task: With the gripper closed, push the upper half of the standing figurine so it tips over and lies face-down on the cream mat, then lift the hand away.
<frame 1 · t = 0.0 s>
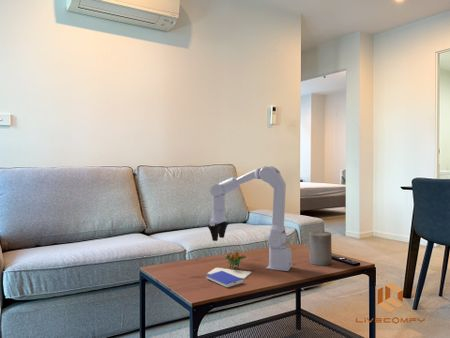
hand: (218, 239, 168), 10 cm above the table, tool pointing down, fingers open, 7 cm apart
cream mat: (229, 273, 149), on the table
hard drive: (224, 281, 139), on the table, touching cream mat
figurine: (235, 269, 155), on the table, touching cream mat
pillar candle: (320, 263, 165), on the table
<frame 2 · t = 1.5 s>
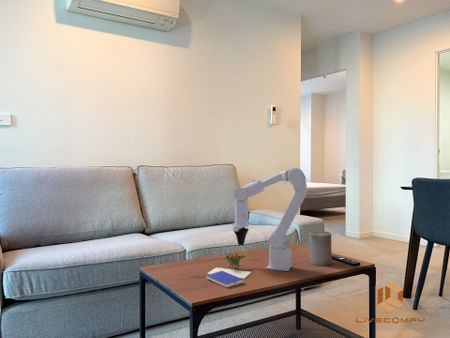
hand: (241, 244, 161), 9 cm above the table, tool pointing down, fingers closed
nothing on the table moved.
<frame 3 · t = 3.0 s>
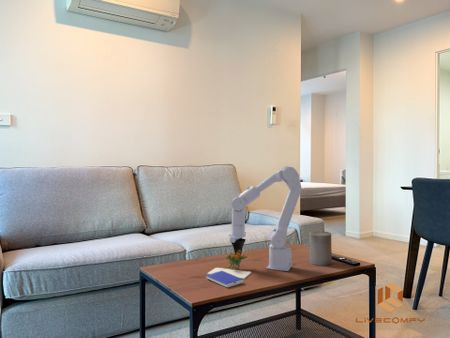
hand: (238, 255, 158), 5 cm above the table, tool pointing down, fingers closed
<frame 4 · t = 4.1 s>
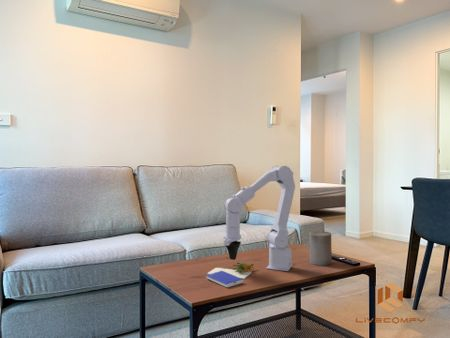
hand: (232, 259, 152), 5 cm above the table, tool pointing down, fingers closed
figurine: (236, 265, 154), point 2 cm above the table, touching cream mat
everything else where it was.
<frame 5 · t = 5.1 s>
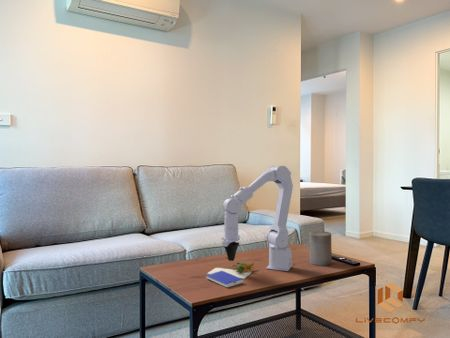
hand: (231, 260, 150), 5 cm above the table, tool pointing down, fingers closed
nothing on the table moved.
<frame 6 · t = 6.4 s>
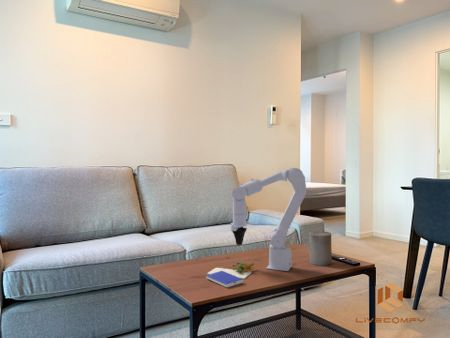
hand: (239, 244, 159), 10 cm above the table, tool pointing down, fingers closed
nothing on the table moved.
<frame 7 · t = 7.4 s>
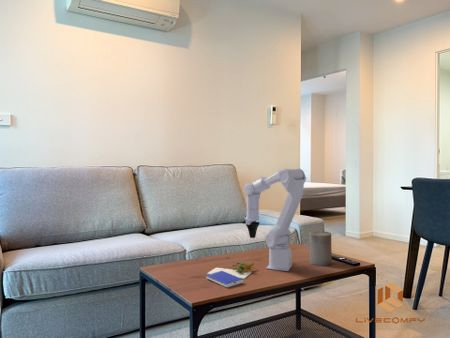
hand: (252, 237, 170), 10 cm above the table, tool pointing down, fingers closed
nothing on the table moved.
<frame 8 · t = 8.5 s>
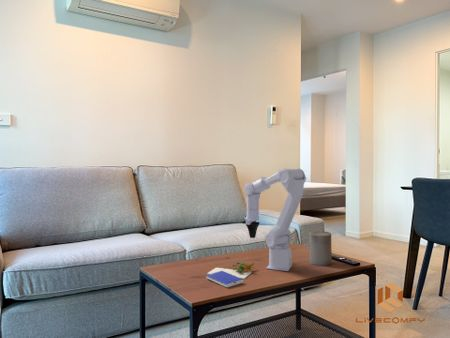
hand: (252, 237, 170), 10 cm above the table, tool pointing down, fingers closed
nothing on the table moved.
at the end: figurine tilted 90°; figurine touching cream mat; figurine moved 2.2 cm from its start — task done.
